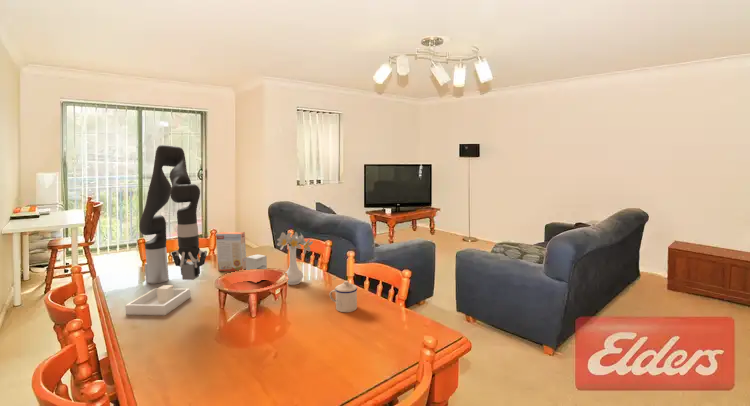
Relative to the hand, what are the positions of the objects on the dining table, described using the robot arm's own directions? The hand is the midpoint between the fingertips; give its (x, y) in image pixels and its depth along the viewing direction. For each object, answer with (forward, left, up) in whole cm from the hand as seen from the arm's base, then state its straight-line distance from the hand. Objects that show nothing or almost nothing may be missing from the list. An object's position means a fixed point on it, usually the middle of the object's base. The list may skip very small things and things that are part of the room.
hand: (190, 275), depth 162 cm
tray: (-17, +5, -15) cm, 23 cm away
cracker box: (-7, +57, -15) cm, 59 cm away
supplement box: (+13, +39, -15) cm, 44 cm away
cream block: (-17, +9, -14) cm, 24 cm away
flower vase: (+33, +36, -15) cm, 51 cm away
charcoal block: (0, 0, -1) cm, 1 cm away
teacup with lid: (+61, +5, -15) cm, 63 cm away
